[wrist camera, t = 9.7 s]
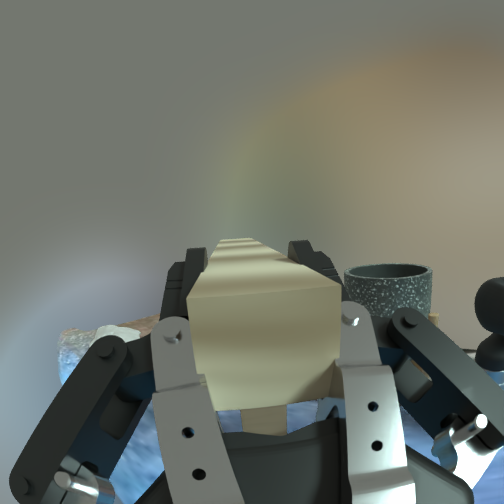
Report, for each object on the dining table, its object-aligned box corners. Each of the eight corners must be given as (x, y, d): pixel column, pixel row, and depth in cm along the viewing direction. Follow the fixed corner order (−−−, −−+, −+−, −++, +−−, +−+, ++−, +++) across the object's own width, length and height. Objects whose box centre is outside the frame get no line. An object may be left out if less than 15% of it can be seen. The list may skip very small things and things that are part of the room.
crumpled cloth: (126, 330, 119) (120, 312, 117) (166, 349, 97) (159, 328, 95) (85, 349, 101) (78, 331, 99) (116, 377, 79) (106, 354, 78)
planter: (334, 407, 57) (339, 280, 55) (345, 366, 78) (347, 264, 75) (422, 407, 48) (442, 276, 46) (414, 365, 68) (423, 262, 66)
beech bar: (336, 395, 6) (341, 284, 6) (203, 411, 6) (186, 298, 6) (252, 264, 32) (250, 237, 32) (222, 266, 32) (220, 239, 32)
